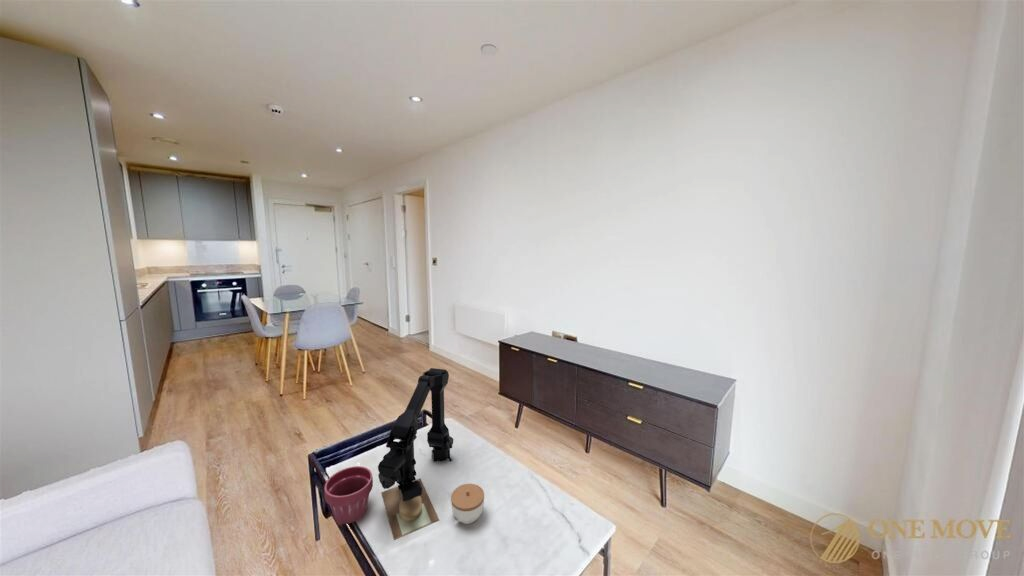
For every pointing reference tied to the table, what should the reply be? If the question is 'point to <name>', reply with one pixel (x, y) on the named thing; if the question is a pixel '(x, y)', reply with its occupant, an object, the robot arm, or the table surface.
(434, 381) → the robot arm
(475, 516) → the lidded jar
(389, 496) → the walnut board
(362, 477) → the plant pot
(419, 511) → the oak puck
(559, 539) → the table surface
